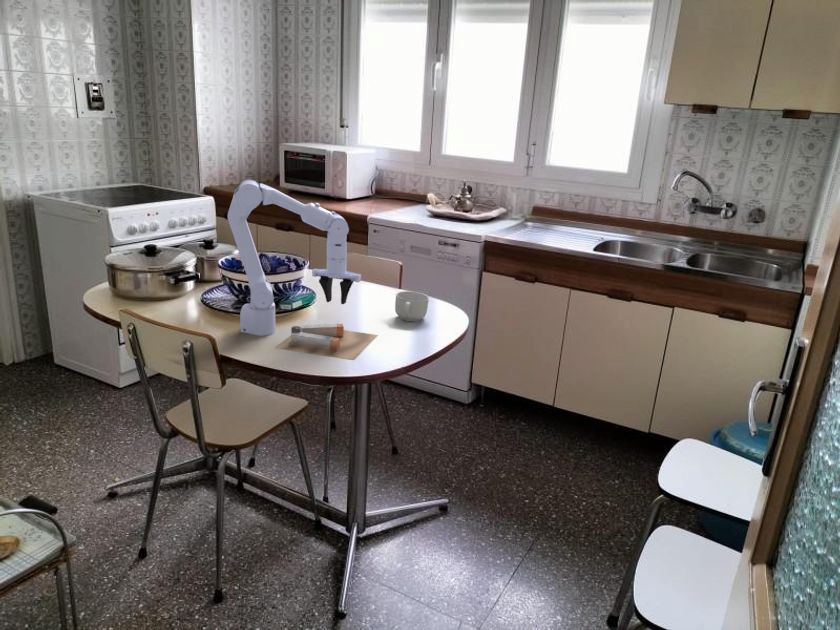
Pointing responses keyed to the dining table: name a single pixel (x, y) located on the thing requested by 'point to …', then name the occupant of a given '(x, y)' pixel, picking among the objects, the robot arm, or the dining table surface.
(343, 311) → the dining table surface
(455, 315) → the dining table surface
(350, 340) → the board
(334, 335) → the tong arm
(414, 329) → the dining table surface
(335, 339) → the tongs fixed half
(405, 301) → the teacup
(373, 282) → the dining table surface
